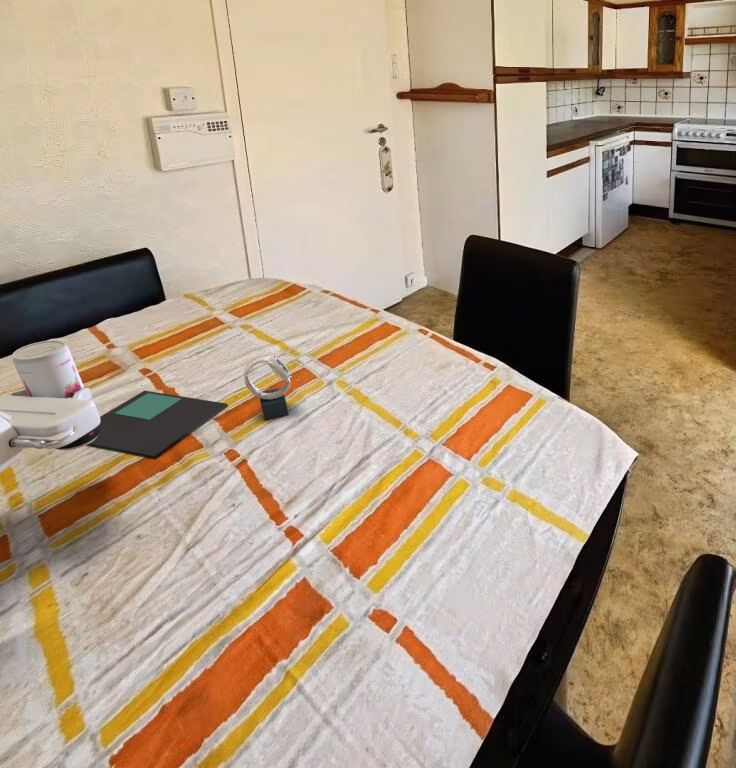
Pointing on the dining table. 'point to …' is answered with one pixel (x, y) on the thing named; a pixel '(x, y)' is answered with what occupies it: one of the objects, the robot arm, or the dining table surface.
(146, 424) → the place mat
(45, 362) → the beverage can
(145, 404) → the corner pad
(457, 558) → the dining table surface
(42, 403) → the robot arm
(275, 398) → the watch
